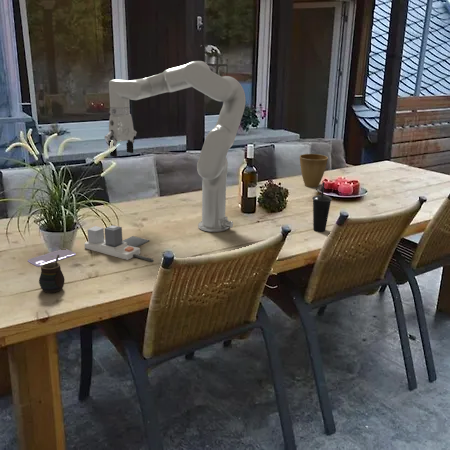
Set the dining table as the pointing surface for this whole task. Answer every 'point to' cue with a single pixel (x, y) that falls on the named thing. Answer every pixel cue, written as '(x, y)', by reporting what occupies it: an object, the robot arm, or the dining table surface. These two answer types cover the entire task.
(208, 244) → the dining table surface
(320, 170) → the plant pot
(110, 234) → the block
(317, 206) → the drinking cup
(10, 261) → the dining table surface
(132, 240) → the mat
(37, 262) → the mobile phone
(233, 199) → the dining table surface
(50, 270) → the mate gourd
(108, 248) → the power strip
